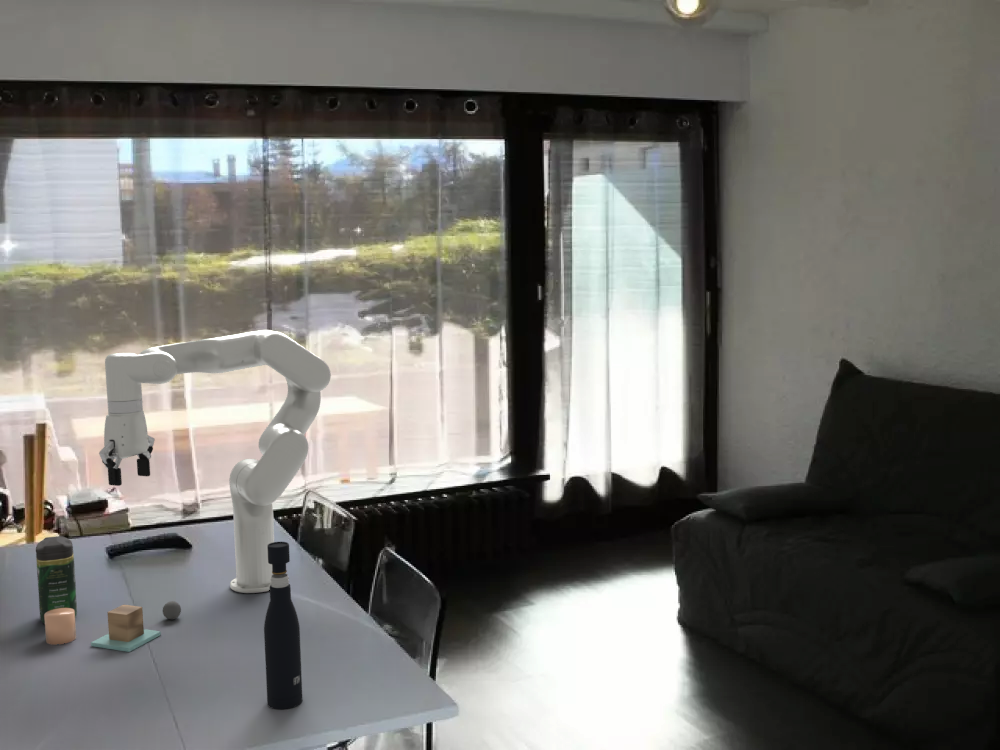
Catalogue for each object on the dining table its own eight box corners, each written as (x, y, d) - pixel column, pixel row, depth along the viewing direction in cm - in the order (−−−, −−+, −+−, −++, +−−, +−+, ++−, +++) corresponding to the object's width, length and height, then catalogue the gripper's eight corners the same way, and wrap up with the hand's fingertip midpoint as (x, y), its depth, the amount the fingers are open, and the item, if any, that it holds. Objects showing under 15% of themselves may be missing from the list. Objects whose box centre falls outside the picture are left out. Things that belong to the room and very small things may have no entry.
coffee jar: (78, 622, 238) (72, 542, 235) (40, 627, 235) (34, 546, 232) (77, 608, 247) (72, 531, 244) (40, 614, 244) (34, 535, 241)
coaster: (123, 629, 233) (123, 626, 233) (160, 634, 229) (160, 631, 229) (91, 645, 224) (90, 642, 224) (129, 651, 220) (129, 648, 220)
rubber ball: (170, 614, 242) (169, 598, 241) (185, 616, 240) (184, 599, 240) (159, 620, 238) (158, 603, 238) (173, 622, 237) (172, 605, 236)
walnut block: (125, 631, 230) (123, 604, 229) (143, 633, 228) (142, 607, 227) (109, 639, 225) (107, 612, 224) (128, 642, 224) (126, 614, 223)
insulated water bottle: (269, 695, 198) (262, 540, 194) (304, 693, 199) (297, 538, 195) (265, 710, 192) (257, 550, 188) (300, 708, 192) (294, 548, 189)
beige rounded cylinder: (60, 632, 232) (58, 606, 231) (82, 636, 230) (80, 609, 229) (39, 642, 226) (37, 615, 225) (61, 646, 224) (60, 619, 223)
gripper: (137, 400, 251) (141, 471, 253) (85, 412, 235) (90, 487, 237) (163, 402, 248) (167, 473, 250) (112, 414, 232) (117, 490, 234)
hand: (129, 480), depth 244 cm, fingers open, 9 cm apart
